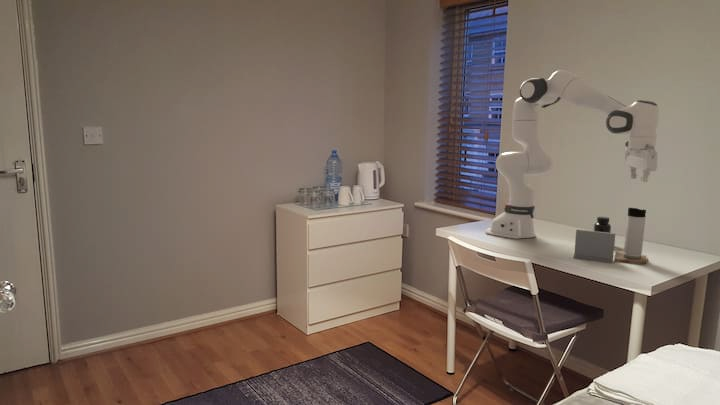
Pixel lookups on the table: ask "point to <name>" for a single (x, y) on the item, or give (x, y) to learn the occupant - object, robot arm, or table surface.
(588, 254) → the slate screen
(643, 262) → the walnut pad
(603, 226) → the supplement bottle
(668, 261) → the table surface
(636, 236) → the travel mug
